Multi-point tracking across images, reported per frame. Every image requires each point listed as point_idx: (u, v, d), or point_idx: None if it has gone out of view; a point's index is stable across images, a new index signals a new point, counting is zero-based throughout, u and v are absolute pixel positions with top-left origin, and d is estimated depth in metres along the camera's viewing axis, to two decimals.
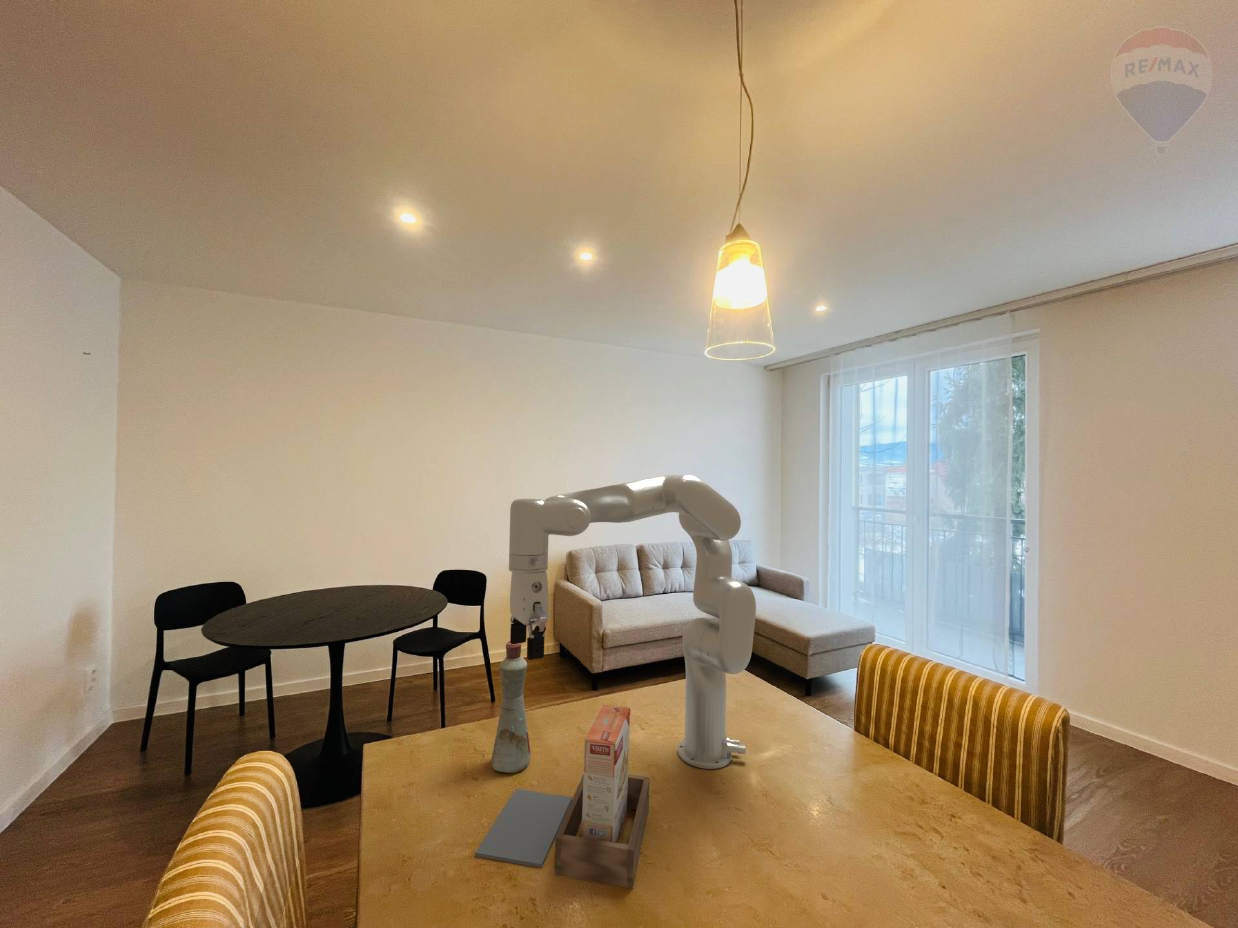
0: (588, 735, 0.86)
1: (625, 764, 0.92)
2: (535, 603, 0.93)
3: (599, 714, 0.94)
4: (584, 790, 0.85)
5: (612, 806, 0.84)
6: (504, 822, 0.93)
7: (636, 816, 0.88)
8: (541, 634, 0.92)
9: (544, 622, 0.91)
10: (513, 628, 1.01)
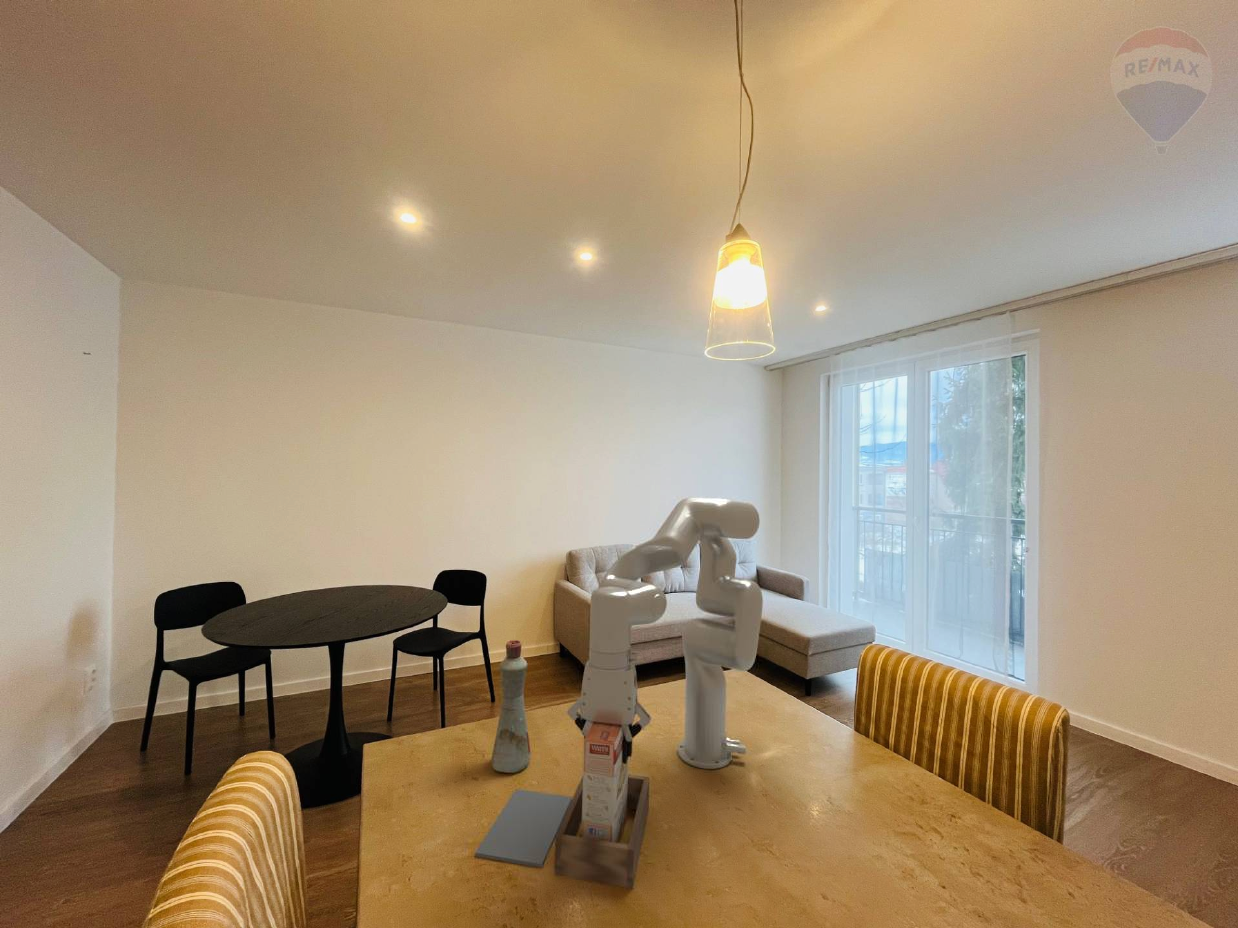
0: (587, 735, 0.86)
1: (625, 764, 0.92)
2: (635, 701, 0.90)
3: None
4: (584, 790, 0.85)
5: (612, 806, 0.84)
6: (504, 822, 0.93)
7: (636, 816, 0.88)
8: None
9: None
10: None
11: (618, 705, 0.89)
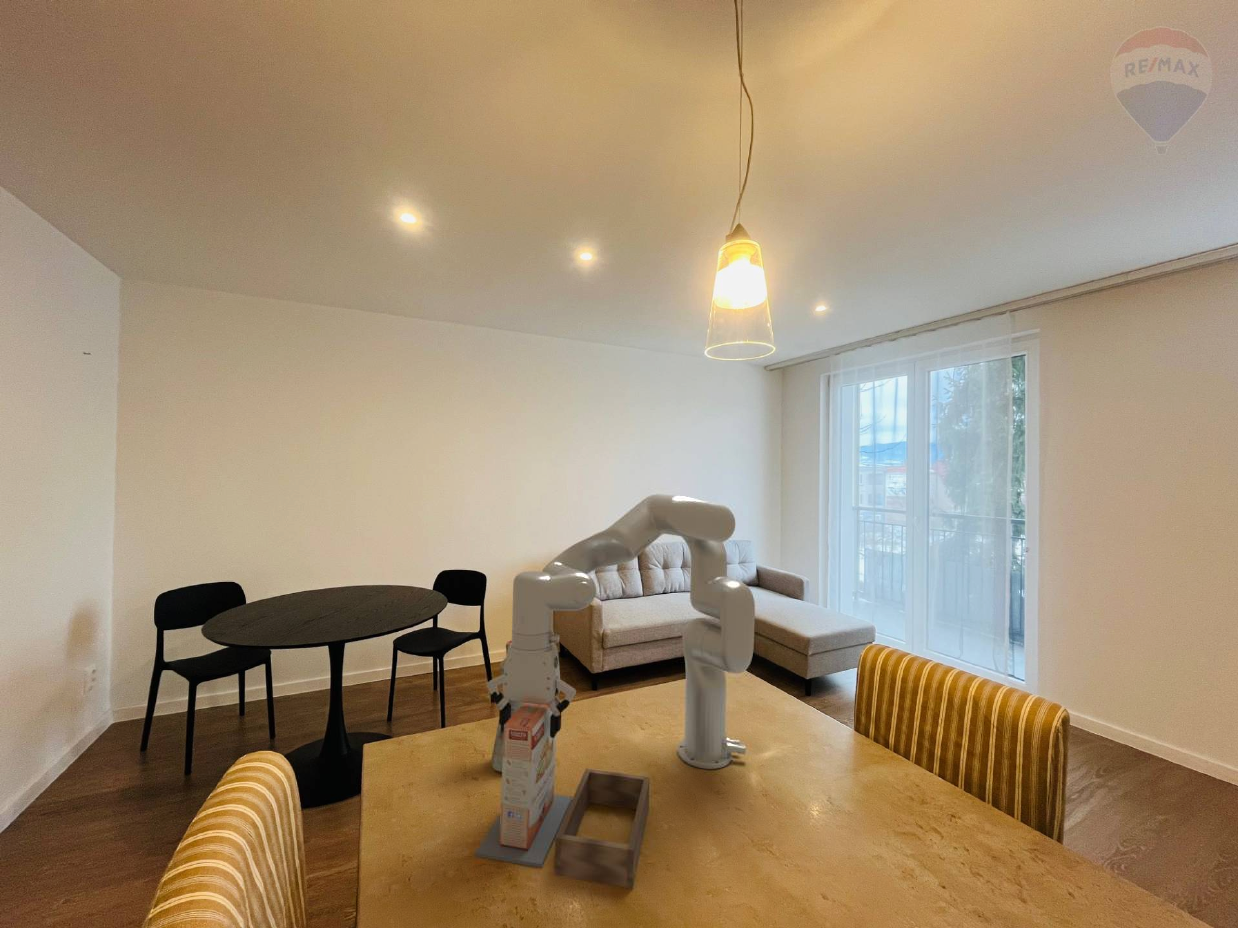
0: (508, 721, 0.89)
1: (549, 750, 0.95)
2: (556, 679, 0.93)
3: None
4: (503, 774, 0.88)
5: (529, 789, 0.87)
6: None
7: (636, 816, 0.88)
8: None
9: (574, 694, 0.93)
10: (505, 714, 0.94)
11: (538, 685, 0.91)
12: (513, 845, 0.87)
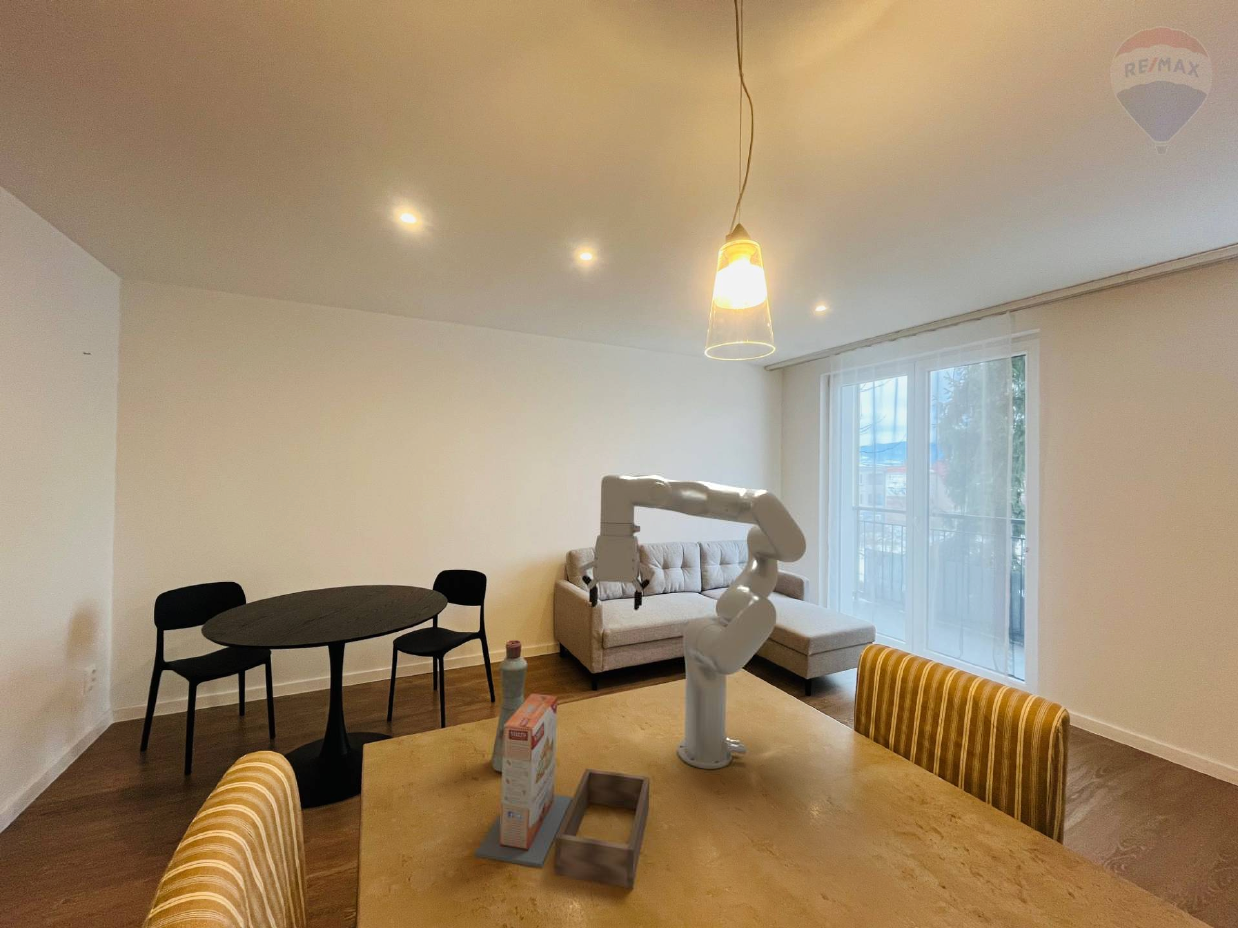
0: (508, 721, 0.89)
1: (549, 750, 0.95)
2: (638, 562, 1.11)
3: (525, 702, 0.97)
4: (503, 774, 0.88)
5: (529, 789, 0.87)
6: None
7: (636, 816, 0.88)
8: None
9: None
10: (594, 592, 1.12)
11: (624, 566, 1.09)
12: (513, 845, 0.87)
